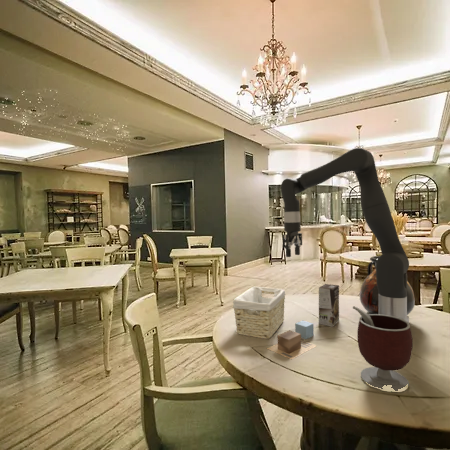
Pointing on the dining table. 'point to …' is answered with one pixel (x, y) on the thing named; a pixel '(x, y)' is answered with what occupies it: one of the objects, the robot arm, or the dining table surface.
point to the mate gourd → (384, 348)
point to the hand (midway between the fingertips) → (293, 255)
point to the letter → (304, 348)
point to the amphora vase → (371, 292)
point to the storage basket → (259, 312)
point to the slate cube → (304, 329)
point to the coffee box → (328, 304)
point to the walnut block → (289, 341)
